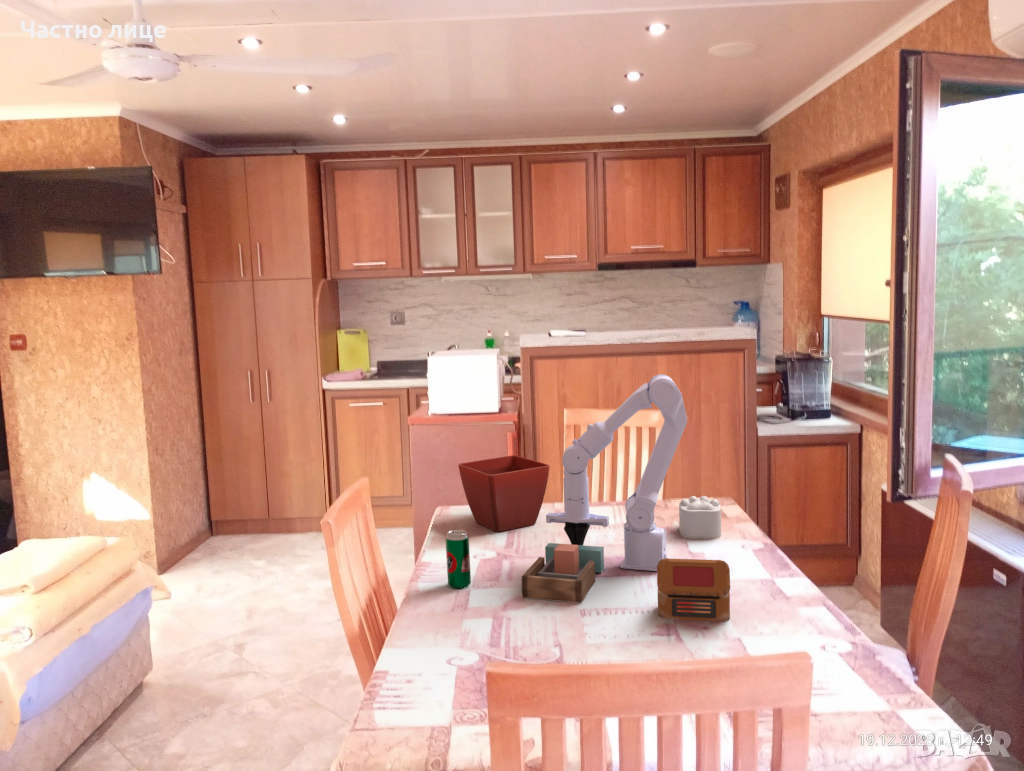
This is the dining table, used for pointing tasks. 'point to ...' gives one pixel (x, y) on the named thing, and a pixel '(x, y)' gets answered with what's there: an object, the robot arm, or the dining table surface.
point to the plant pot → (504, 490)
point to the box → (693, 589)
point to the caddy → (557, 584)
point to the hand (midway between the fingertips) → (578, 554)
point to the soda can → (458, 559)
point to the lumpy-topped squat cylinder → (700, 518)
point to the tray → (584, 557)
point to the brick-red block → (566, 559)
